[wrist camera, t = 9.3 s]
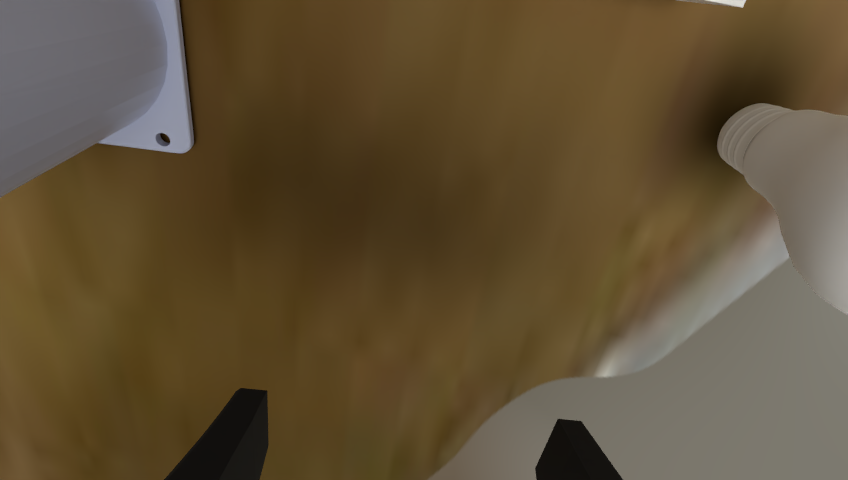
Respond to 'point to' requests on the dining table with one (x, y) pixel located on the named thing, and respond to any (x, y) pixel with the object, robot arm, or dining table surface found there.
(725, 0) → the power strip
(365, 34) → the dining table surface
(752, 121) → the lightbulb
